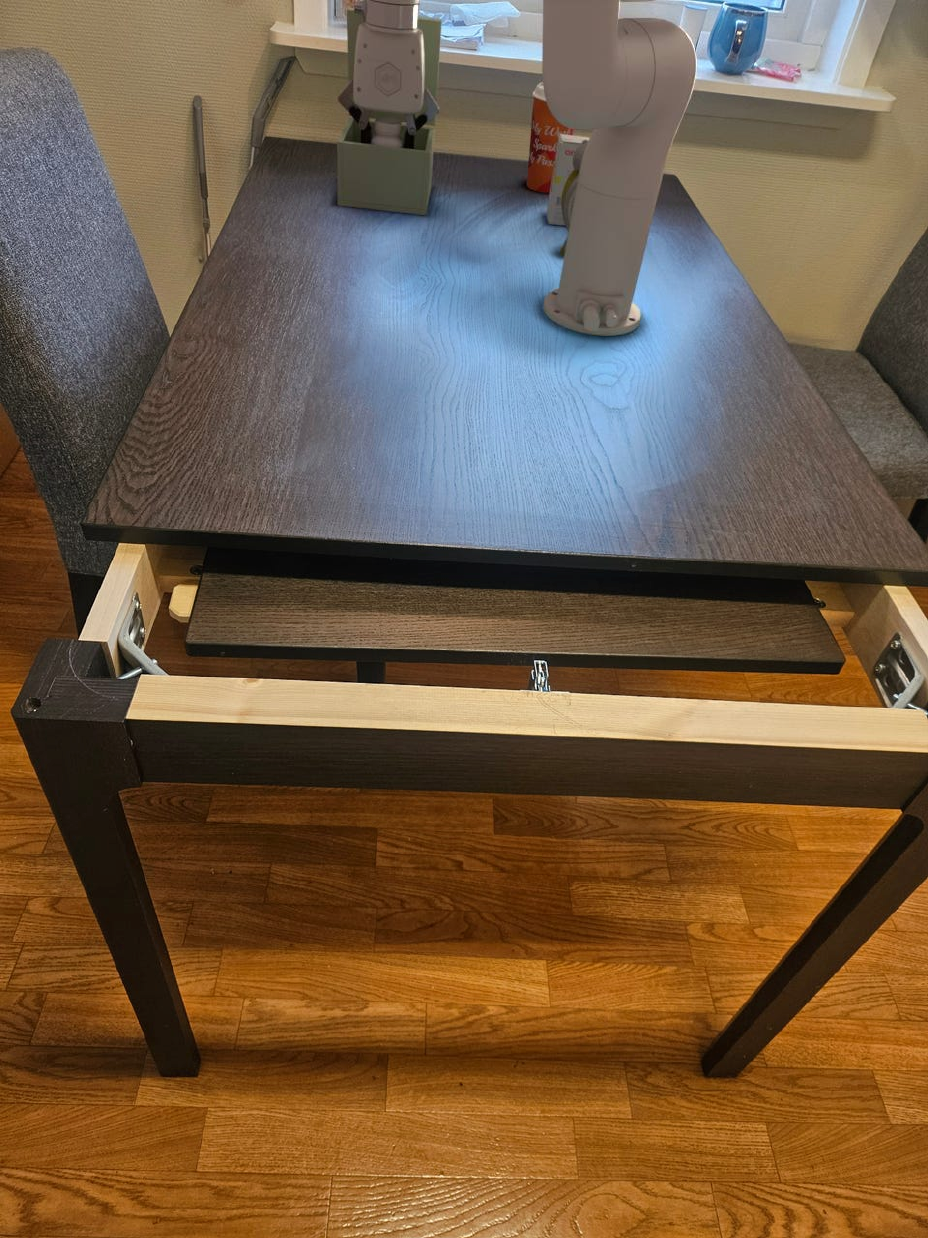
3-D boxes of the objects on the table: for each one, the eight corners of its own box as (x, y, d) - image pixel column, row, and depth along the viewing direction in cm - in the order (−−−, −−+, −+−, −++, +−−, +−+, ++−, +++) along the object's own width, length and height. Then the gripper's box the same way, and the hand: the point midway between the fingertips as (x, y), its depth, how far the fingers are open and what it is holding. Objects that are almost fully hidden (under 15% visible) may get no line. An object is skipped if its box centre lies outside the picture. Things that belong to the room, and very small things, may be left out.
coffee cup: (514, 188, 144) (528, 87, 133) (526, 176, 149) (540, 77, 139) (562, 198, 142) (580, 96, 132) (572, 185, 148) (589, 86, 138)
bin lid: (441, 21, 121) (443, 5, 125) (346, 9, 121) (351, -7, 124) (435, 125, 133) (437, 108, 137) (348, 115, 133) (353, 98, 136)
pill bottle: (364, 179, 133) (365, 115, 127) (395, 178, 135) (398, 115, 129) (376, 190, 130) (378, 125, 124) (408, 189, 132) (411, 125, 126)
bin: (426, 215, 130) (430, 152, 124) (337, 205, 129) (337, 141, 123) (431, 187, 140) (435, 127, 134) (348, 177, 139) (349, 117, 133)
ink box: (598, 219, 137) (614, 137, 128) (601, 230, 133) (618, 147, 125) (545, 213, 136) (558, 131, 128) (547, 224, 132) (560, 140, 124)
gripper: (326, 12, 114) (327, 159, 127) (452, 28, 115) (441, 172, 127) (333, 3, 120) (334, 145, 132) (454, 18, 121) (443, 158, 133)
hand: (387, 157), depth 130 cm, fingers closed on pill bottle, 5 cm apart
